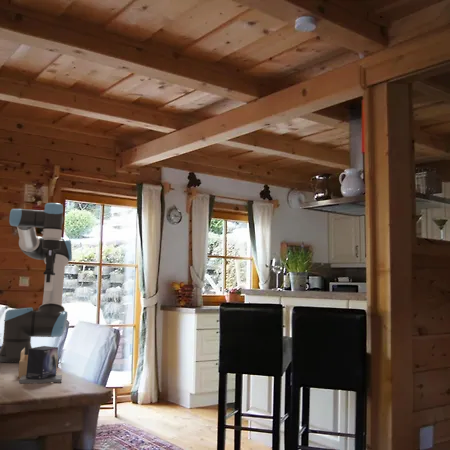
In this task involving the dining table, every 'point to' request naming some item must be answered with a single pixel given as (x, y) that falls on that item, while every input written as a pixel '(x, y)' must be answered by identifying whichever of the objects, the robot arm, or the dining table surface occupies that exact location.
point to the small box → (41, 362)
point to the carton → (24, 364)
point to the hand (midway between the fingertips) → (48, 290)
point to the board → (51, 379)
